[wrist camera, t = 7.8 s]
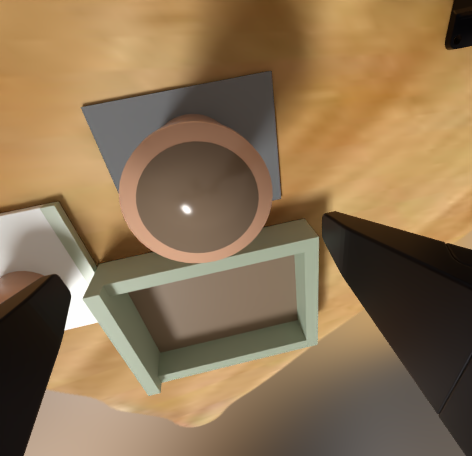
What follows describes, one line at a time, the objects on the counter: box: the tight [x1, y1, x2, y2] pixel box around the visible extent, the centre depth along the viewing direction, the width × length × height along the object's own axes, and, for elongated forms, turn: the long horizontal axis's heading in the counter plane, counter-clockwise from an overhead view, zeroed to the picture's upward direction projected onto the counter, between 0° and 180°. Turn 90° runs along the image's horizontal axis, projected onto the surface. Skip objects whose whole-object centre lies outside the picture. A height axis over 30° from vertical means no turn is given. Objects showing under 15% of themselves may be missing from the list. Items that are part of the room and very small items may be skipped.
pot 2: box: [119, 114, 273, 263], centre depth 15 cm, size 7×7×8 cm
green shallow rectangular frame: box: [82, 219, 319, 396], centre depth 24 cm, size 18×14×4 cm
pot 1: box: [0, 271, 44, 304], centre depth 19 cm, size 6×6×6 cm
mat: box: [81, 71, 281, 201], centre depth 18 cm, size 12×9×1 cm
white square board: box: [0, 201, 98, 330], centre depth 21 cm, size 10×12×1 cm
